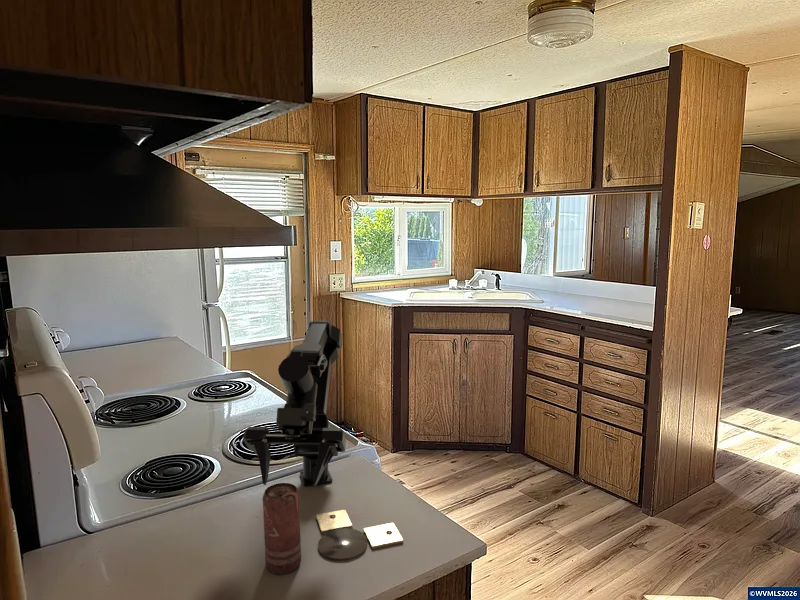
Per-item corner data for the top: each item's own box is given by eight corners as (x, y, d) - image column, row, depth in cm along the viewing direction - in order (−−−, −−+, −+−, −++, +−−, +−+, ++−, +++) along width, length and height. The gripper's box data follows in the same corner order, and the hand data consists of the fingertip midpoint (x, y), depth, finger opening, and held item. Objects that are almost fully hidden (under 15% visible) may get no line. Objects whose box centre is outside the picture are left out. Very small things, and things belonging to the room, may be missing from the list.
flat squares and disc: (308, 518, 111) (308, 515, 111) (381, 505, 116) (381, 502, 116) (323, 564, 97) (323, 561, 96) (405, 547, 101) (405, 543, 101)
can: (294, 577, 93) (292, 501, 91) (259, 572, 94) (256, 497, 92) (307, 555, 99) (305, 483, 97) (274, 551, 100) (271, 479, 98)
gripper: (243, 386, 103) (226, 469, 94) (342, 387, 103) (335, 470, 93) (257, 411, 112) (242, 489, 103) (348, 412, 112) (342, 490, 102)
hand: (289, 484), depth 100 cm, fingers open, 9 cm apart
